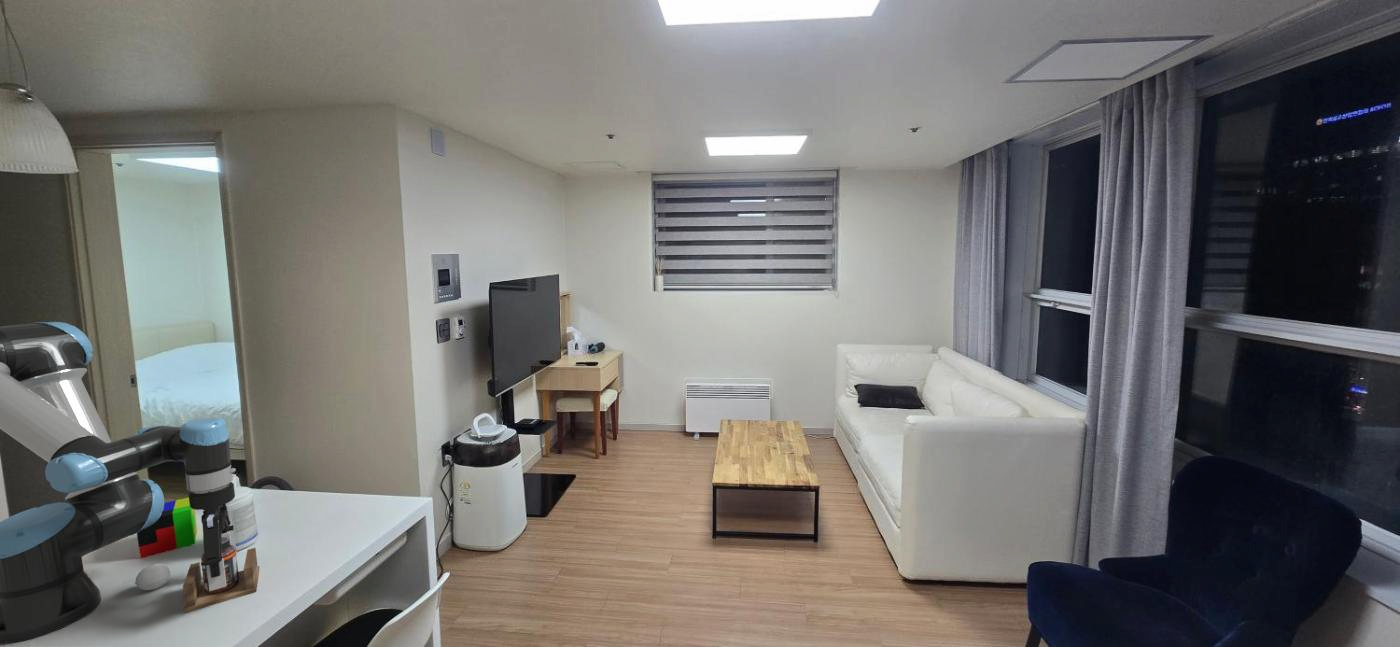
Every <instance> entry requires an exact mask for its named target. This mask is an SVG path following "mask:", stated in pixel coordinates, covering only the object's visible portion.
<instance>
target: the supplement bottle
mask: <svg viewBox="0 0 1400 647" xmlns="http://www.w3.org/2000/svg"><path fill="white" fill-rule="evenodd" d="M212 558H213V557H212ZM222 558H223V561H224V569H225V577H226V587H223V588H220V589H216V590H213V591H209V583H208V575H207V568H206V566H205V565H204V566H201V570H202V571H201V573H202V579H203V580H202V582H203V581H204V588H205V592H207V593H219V592H223V591H225V590H228V589H230V588H232V587H233V586H235V585H236V584H237V583H238V581H239V575H238V572H239V567H238V558H237V551H236V548H235V546H233V545H230V542H229V538H228V537H222ZM200 560H201V562H204V552H203V553H202V555H201V558H200ZM201 562H200V563H201Z"/></svg>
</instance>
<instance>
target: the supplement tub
mask: <svg viewBox="0 0 1400 647" xmlns="http://www.w3.org/2000/svg"><path fill="white" fill-rule="evenodd" d="M234 491H235V497H234V499H233V500H232V501H230V502H228V503H226V506H227V511H228V516H229V520H230V522H231V524H230V526H232V525H233V526H234V530H232V531H227V532H230V535H231V544H232V545H233V546H235V548H236V552H238V551H241V550H243V549H247V548H249V547H250V546H252V545H253V544H254V543H255V542H257V540H258V538H259V533H258V532H259V531H258V524H257V519H256V512H255V504H254V496H253V493H252V488H250V487H248V486H236V487H235V486H234Z"/></svg>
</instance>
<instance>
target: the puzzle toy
mask: <svg viewBox="0 0 1400 647" xmlns="http://www.w3.org/2000/svg"><path fill="white" fill-rule="evenodd" d="M197 532H198V527H197V519H196V510H195V509H192V508H191V507H190V503H189V497H185V498H180V499H175V500H172V501H171V500H170V501H167V502H164V509H163V511H162V514H161V516H160V518H159V519H158V520H157V521H156V522H155V523H154V524H152V525H151V526H149V527H147V528H145V529H143V530H141V531H139V532H138V533H136V536H137V543H138V550H139V557H140V559H144V558H148V557H152V556H156V555H160V554H163V553H167V552H170V551H171V552H172V551H174V550H178V549H182V548H186V547H189V546H194V545H196V539H197Z"/></svg>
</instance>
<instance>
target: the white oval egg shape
mask: <svg viewBox="0 0 1400 647" xmlns="http://www.w3.org/2000/svg"><path fill="white" fill-rule="evenodd" d="M170 576H171V570H170V567H169V566H167V565H166V564H162V563H154V564H151V565H148V566H146V567H144V568H142V569H141V570H140V571H139V572H138V574H137V576H136V577H135V582H134V583H135V585H136V587H137V588H139V589H140V590H141V591H142V590H143V591H154V590H156V589H159V588H160V587H162V586H164V585H165V584H166V583H167V582H168V581H169V579H170ZM132 581H134V579H132V580H131V582H132ZM129 582H130V581H125V582H124V584H125V583H129Z"/></svg>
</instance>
